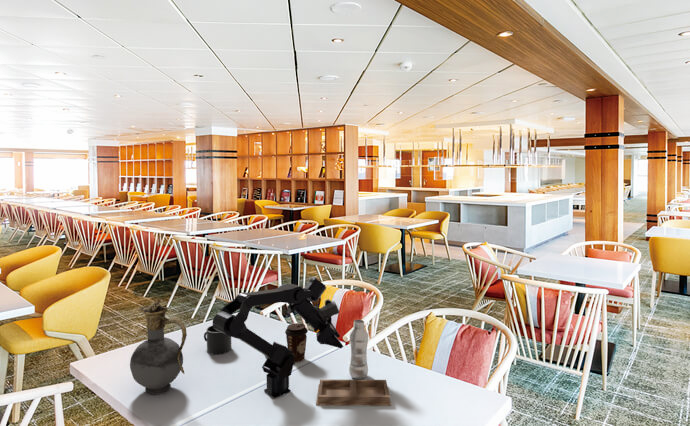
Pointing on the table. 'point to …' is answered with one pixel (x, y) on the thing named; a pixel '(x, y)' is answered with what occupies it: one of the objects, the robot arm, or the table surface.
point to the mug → (217, 341)
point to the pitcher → (157, 352)
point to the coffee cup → (297, 340)
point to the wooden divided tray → (353, 392)
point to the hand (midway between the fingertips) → (340, 341)
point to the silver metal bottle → (358, 351)
